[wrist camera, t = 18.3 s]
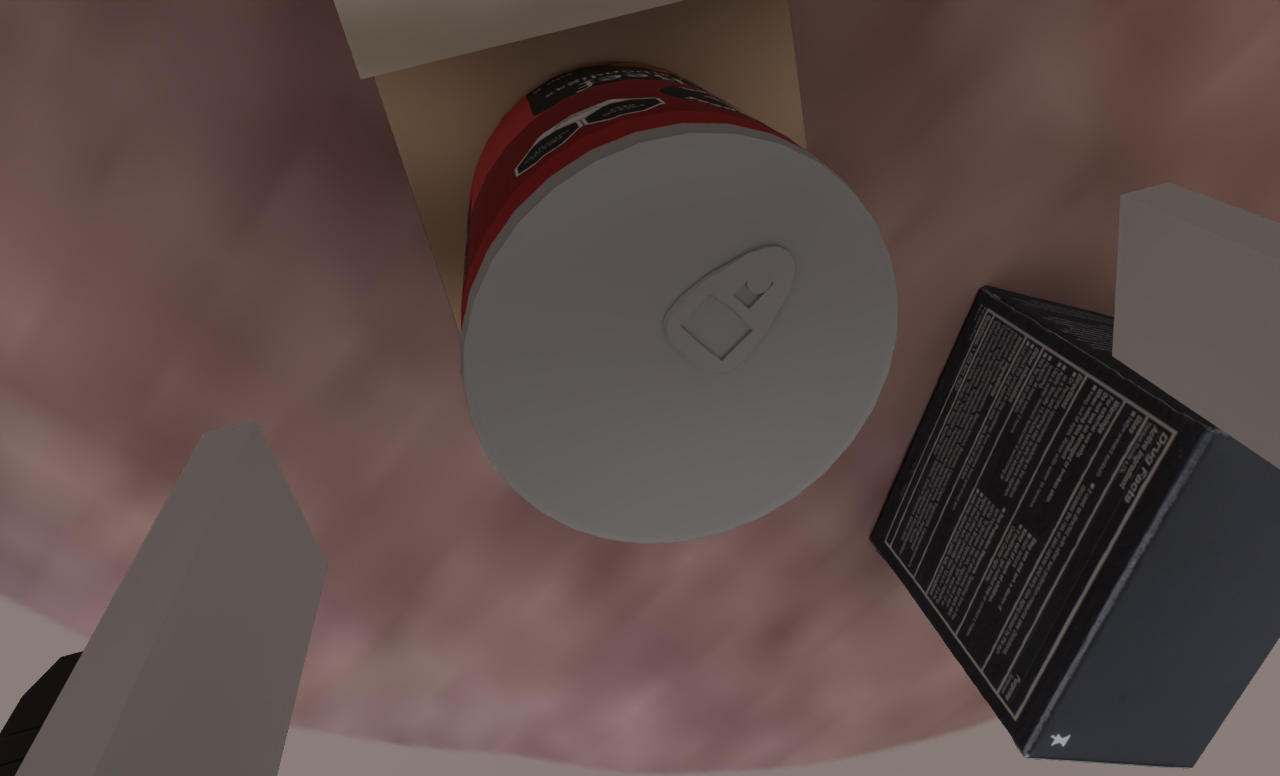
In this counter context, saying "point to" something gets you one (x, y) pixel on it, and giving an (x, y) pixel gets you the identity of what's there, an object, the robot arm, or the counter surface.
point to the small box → (1085, 541)
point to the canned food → (665, 307)
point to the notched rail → (546, 76)
